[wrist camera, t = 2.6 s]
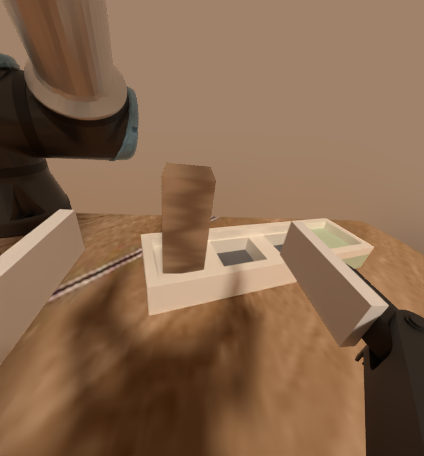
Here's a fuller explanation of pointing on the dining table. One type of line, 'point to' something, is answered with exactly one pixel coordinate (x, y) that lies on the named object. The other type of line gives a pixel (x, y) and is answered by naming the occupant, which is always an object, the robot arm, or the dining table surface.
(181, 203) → the walnut block
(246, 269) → the tray
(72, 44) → the robot arm
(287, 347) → the dining table surface
